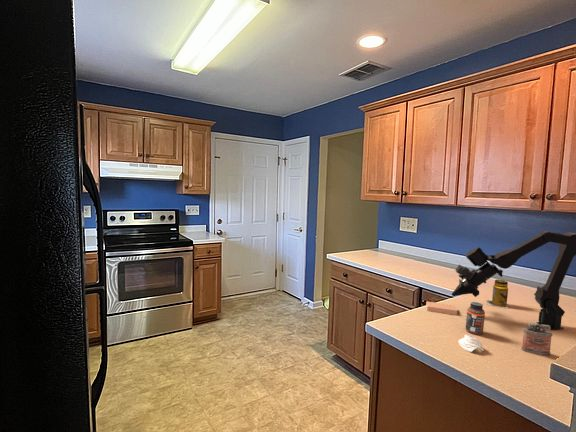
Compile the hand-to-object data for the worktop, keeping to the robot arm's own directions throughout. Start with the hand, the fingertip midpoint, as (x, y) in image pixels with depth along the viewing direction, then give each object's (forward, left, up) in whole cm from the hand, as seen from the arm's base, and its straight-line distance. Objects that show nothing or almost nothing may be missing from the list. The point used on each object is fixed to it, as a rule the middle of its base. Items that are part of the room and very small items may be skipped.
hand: (452, 295), depth 143 cm
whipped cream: (-30, +17, -8) cm, 35 cm away
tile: (-1, -2, -7) cm, 7 cm away
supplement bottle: (-19, +6, -8) cm, 22 cm away
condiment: (+5, -30, -8) cm, 32 cm away
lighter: (-36, -3, -8) cm, 37 cm away
